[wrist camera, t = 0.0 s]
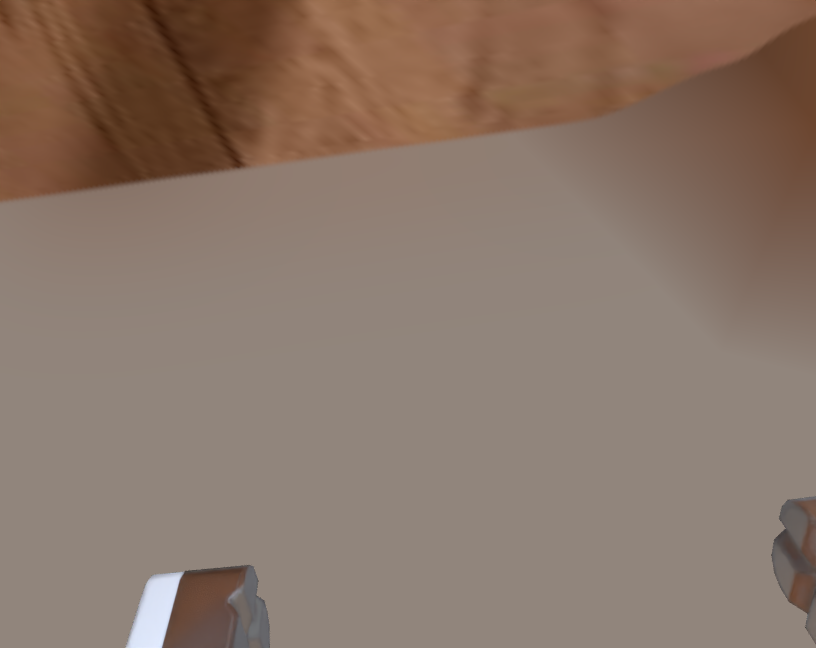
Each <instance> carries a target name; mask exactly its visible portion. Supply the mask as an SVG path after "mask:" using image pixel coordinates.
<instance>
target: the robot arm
mask: <svg viewBox="0 0 816 648" xmlns="http://www.w3.org/2000/svg"><path fill="white" fill-rule="evenodd" d="M779 519H780V521H781V522H782V523H783V525H784V527H785V528H786V529H785V530H784V531H783V532H781V533H780V534H779V535H778V536H777V537H776V538H775V539H774V543H773V549H772V555H771V556H772V562H773V567H774V573H775V576H776V578H777V581H778V583H779V586H780V588H781V590H782V591H783V593H784V594H785V596H786V598H787V599H788V601H789V602H790V603H792V604H793V605H795V606H797V607H798V608H800V609H801V610H803V611H804V612H806V613H807V620H806V627H805V628H806V629H807V631H808V633H809V634H810V636H811V637H812V639H813V640H814V642H815V644H816V496H815V497H806V498H799V499H791V500H787V501H786V502H785V504H784V505H783V506H782V508H781V512H780V516H779ZM257 587H258V578H257V576H256V573H255V570H254V567H253V566H251V565H245V566H235V567H223V568H213V569H202V570H192V571H185V572H175V573H166V574H155V575H152V576H151V577H150V579H149V580H148V582H147V583H146V584H145V587H144V590H143V593H142V596H141V599H140V603H139V606H138V609H137V612H136V615H135V618H134V621H133V625H132V627H131V631H130V634H129V637H128V640H127V643H126V646H125V648H270V626H269V619H268V613H267V608H266V605H265V602H264V600H263V599H261V598H259V597H258V596H257V595H256V594H257Z"/></svg>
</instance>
